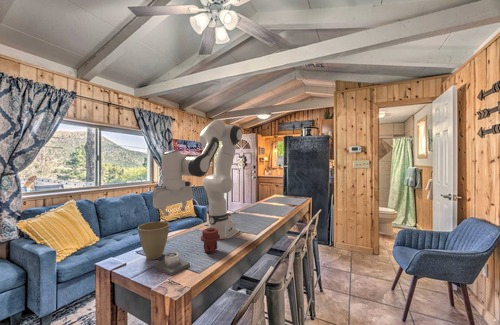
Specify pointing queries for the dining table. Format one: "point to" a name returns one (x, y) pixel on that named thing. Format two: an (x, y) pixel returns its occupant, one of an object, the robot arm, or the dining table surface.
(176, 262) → the steel collar
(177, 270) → the shaft base
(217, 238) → the mechanical component
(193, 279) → the dining table surface
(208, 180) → the robot arm
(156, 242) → the plant pot
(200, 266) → the dining table surface
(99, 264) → the dining table surface
